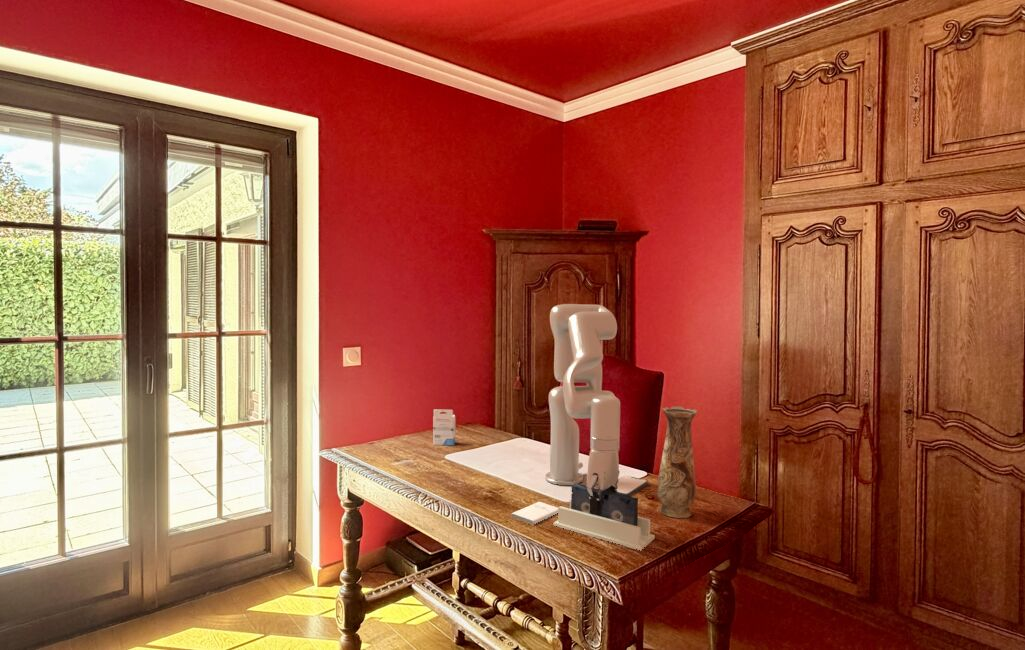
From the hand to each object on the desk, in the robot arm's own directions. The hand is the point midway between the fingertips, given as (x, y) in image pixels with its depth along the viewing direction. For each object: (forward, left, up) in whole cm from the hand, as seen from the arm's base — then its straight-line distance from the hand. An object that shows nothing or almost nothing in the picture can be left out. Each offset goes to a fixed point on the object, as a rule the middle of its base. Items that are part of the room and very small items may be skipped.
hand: (603, 508), depth 148 cm
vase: (-25, +11, -6) cm, 28 cm away
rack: (0, 0, -6) cm, 6 cm away
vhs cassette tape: (0, 0, -6) cm, 6 cm away
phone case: (-35, -9, -7) cm, 37 cm away
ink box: (-39, -91, -6) cm, 99 cm away
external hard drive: (+1, -20, -7) cm, 22 cm away
